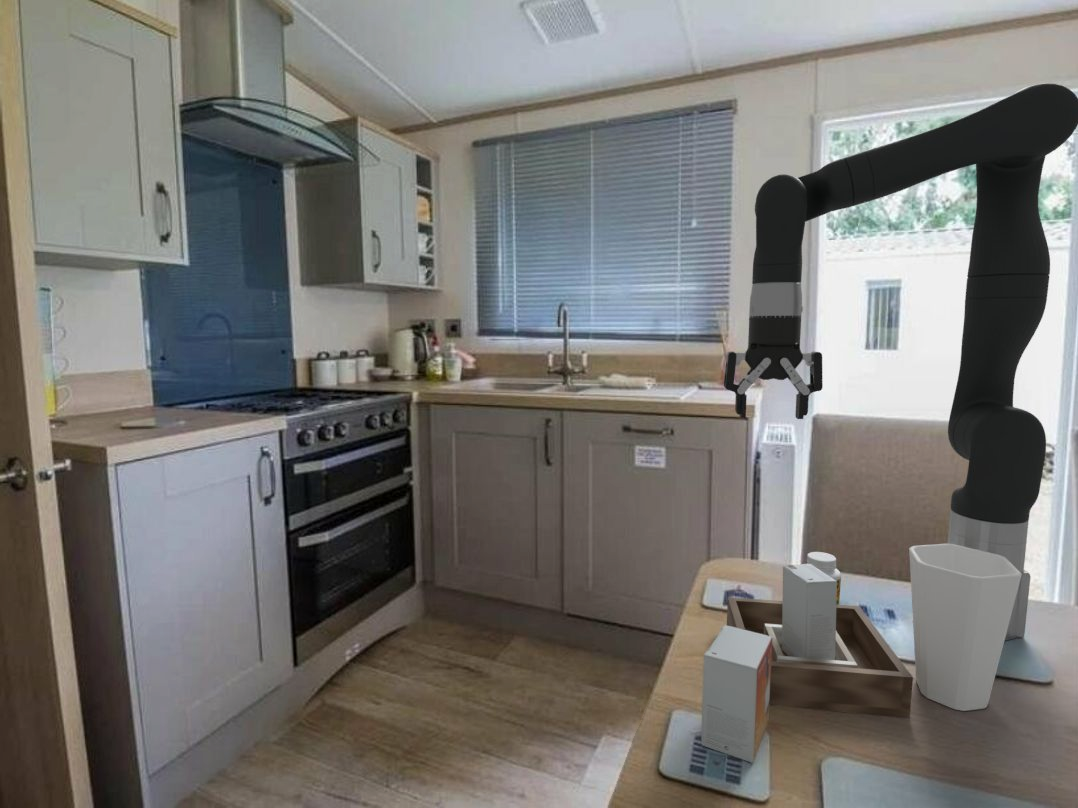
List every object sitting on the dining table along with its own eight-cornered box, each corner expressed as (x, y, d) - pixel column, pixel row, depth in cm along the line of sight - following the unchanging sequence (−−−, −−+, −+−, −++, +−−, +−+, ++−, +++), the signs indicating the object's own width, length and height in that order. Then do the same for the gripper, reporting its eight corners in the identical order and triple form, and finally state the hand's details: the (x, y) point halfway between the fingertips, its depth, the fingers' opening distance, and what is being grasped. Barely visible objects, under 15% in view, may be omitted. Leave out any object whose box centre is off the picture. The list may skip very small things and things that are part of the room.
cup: (1018, 730, 68) (1033, 584, 66) (913, 711, 72) (924, 571, 70) (985, 676, 79) (997, 548, 76) (894, 662, 82) (903, 539, 80)
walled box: (857, 639, 88) (859, 606, 88) (909, 718, 71) (913, 677, 70) (726, 629, 91) (727, 597, 91) (746, 702, 74) (747, 663, 73)
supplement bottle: (824, 633, 90) (828, 566, 89) (790, 618, 94) (793, 554, 93) (845, 623, 93) (849, 558, 92) (811, 609, 98) (815, 546, 96)
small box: (753, 765, 63) (757, 669, 62) (699, 746, 66) (702, 654, 65) (770, 722, 70) (774, 635, 69) (720, 706, 73) (723, 622, 72)
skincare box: (836, 672, 78) (841, 581, 77) (803, 675, 78) (808, 583, 76) (808, 647, 84) (813, 562, 83) (777, 649, 84) (781, 564, 82)
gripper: (817, 313, 97) (812, 415, 99) (724, 314, 100) (720, 413, 102) (831, 313, 90) (825, 422, 92) (730, 313, 92) (726, 420, 94)
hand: (770, 418), depth 97 cm, fingers open, 8 cm apart
